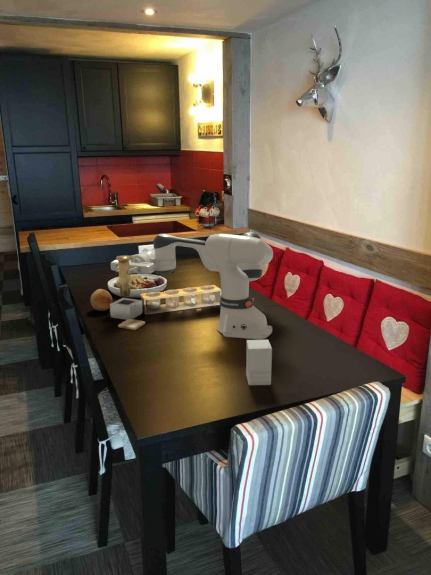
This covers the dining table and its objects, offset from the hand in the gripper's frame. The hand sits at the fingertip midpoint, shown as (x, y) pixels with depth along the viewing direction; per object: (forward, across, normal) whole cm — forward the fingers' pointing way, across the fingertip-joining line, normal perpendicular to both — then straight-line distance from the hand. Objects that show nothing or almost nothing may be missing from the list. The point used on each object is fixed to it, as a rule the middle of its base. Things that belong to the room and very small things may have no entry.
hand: (122, 270), depth 208 cm
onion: (-2, +14, -21) cm, 25 cm away
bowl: (-36, +16, -21) cm, 44 cm away
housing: (-1, 0, -20) cm, 20 cm away
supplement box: (+36, -73, -21) cm, 84 cm away
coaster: (+9, -9, -20) cm, 24 cm away
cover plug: (-1, 0, -11) cm, 11 cm away
